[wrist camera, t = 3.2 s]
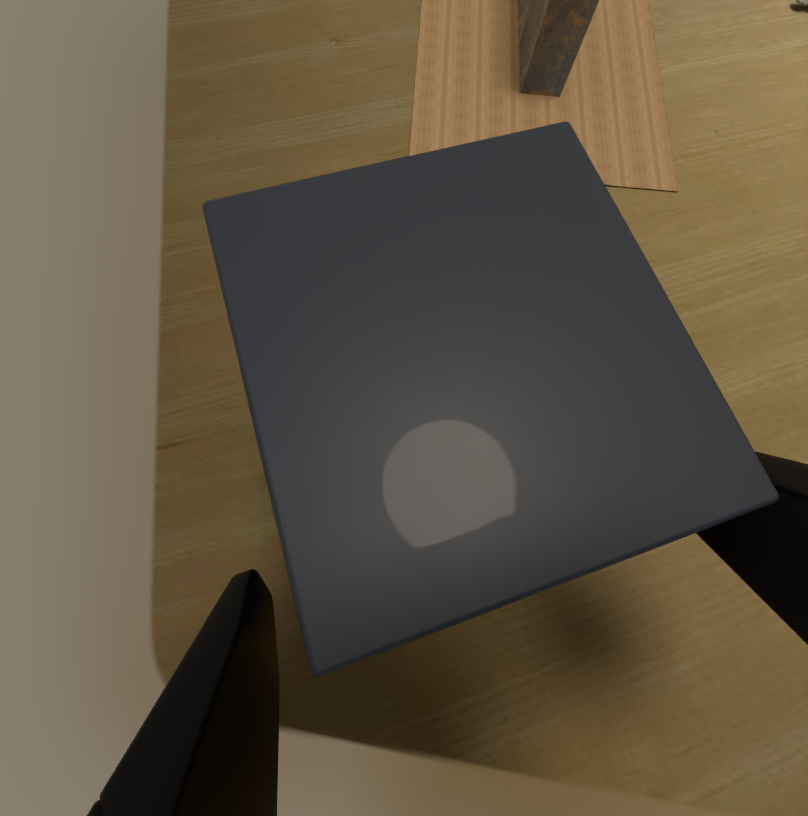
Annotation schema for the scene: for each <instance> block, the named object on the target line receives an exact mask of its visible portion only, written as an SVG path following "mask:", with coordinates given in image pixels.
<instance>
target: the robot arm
mask: <svg viewBox="0 0 808 816" xmlns="http://www.w3.org/2000/svg"><path fill="white" fill-rule="evenodd" d="M754 452H755V451H754ZM755 453H756V455H757V457H758V459H759V461H760V462H761V464H762V466H763V468H764V469H765V471H766V473H767V475H768V477H769V478H770V480H771V482H772V484H773V486H774V487H775V489H776V491H777V493H778V495H779V499H778V500H777V501H776V502H774V503H772V504H770V505H767V506H764V507H762V508H759V509H757V510H754V511H751V512H749V513H746V514H743V515H741V516H738V517H736V518H733V519H730V520H728V521H725V522H723V523H720V524H717V525H715V526H712V527H710V528H707V529H704V530H702V531H699V532H697V533H696V534H697V535H698V536H699V537H700V538H701V539H702V540H703V541H704V542H705V543H706V544H707V545H708V546H709V547H710V548H711V549H712V550H713V551H714V552H715V553H716V554H717V555H718V556H719V557H720V558H721V559H722V560H723V561H724V562H725V563H726V564H727V565H728V566H729V567H730V568H731V569H732V570H733V571H734V572H735V573H736V574H737V575H738V576H739V577H740V578H741V579H742V580H743V581H744V582H745V583H746V584H747V585H748V586H749V587H750V588H751V589H752V590H753V591H754V592H755V593H756V594H757V595H758V596H759V597H760V598H761V599H762V600H763V601H764V602H765V603H766V604H767V605H768V606H769V607H770V608H771V609H772V610H773V611H774V612H775V613H776V614H777V615H778V616H779V617H780V618H781V619H782V620H783V621H784V622H785V623H786V624H787V625H788V626H789V627H790V628H791V629H792V630H793V631H794V632H795V633H796V634H797V635H798V636H799V637H800V638H801V639H802V640H803V641H804V642H805V643H806V644H807V645H808V464H804V463H800V462H796V461H792V460H788V459H784V458H780V457H776V456H772V455H768V454H764V453H760V452H755ZM278 738H279V666H278V654H277V643H276V631H275V619H274V607H273V600H272V596H271V593H270V591H269V589H268V588H267V586H266V584H265V583H264V581H263V580H262V578H261V576H260V575H259V573H258V572H257V571H256V570H255V569H251V570H248V571H245V572H242V573H239V574H236V575H235V576H234V577H233V578H232V579H231V580H230V582H229V584H228V585H227V587H226V589H225V590H224V592H223V593H222V595H221V597H220V598H219V600H218V602H217V603H216V605H215V607H214V608H213V610H212V611H211V613H210V615H209V616H208V618H207V620H206V621H205V623H204V625H203V626H202V628H201V630H200V631H199V633H198V634H197V636H196V638H195V639H194V641H193V643H192V644H191V646H190V648H189V649H188V651H187V653H186V654H185V656H184V657H183V659H182V661H181V662H180V664H179V666H178V667H177V669H176V671H175V672H174V674H173V675H172V677H171V679H170V680H169V682H168V684H167V685H166V687H165V689H164V690H163V692H162V694H161V695H160V697H159V699H158V700H157V702H156V703H155V705H154V707H153V708H152V710H151V712H150V713H149V715H148V717H147V718H146V720H145V722H144V723H143V725H142V726H141V728H140V730H139V731H138V733H137V735H136V736H135V738H134V740H133V741H132V743H131V744H130V746H129V748H128V749H127V751H126V753H125V754H124V756H123V758H122V759H121V761H120V763H119V764H118V766H117V767H116V769H115V771H114V772H113V774H112V776H111V777H110V779H109V781H108V782H107V784H106V786H105V787H104V789H103V791H102V792H101V794H100V800H98V801H97V802H95V803H94V805H93V806H92V808H91V810H90V811H89V813H88V815H87V816H277V782H278Z"/></svg>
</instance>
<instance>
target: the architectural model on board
mask: <svg viewBox="0 0 808 816" xmlns="http://www.w3.org/2000/svg"><path fill="white" fill-rule="evenodd" d="M564 121H566V122H569V123H570V124H571V126H572V128H573V129H574V131H575V133H576V135H577V136H578V138H579V140H580V142H581V144H582V145H583V147H584V149H585V151H586V153H587V154H588V156H589V158H590V160H591V161H592V163H593V165H594V167H595V169H596V170H597V172H598V174H599V176H600V177H601V179H602V181H603V183H604V185H612V186H623V187H634V188H645V189H656V190H668V191H678V188H677V181H676V175H675V168H674V162H673V155H672V149H671V142H670V136H669V129H668V123H667V116H666V110H665V103H664V97H663V90H662V84H661V78H660V71H659V65H658V58H657V52H656V45H655V39H654V32H653V26H652V19H651V13H650V6H649V0H422V6H421V18H420V31H419V43H418V55H417V67H416V79H415V91H414V103H413V115H412V127H411V139H410V151H409V156H411V155H416V154H420V153H425V152H429V151H434V150H438V149H443V148H447V147H452V146H456V145H461V144H465V143H470V142H474V141H479V140H483V139H488V138H492V137H497V136H501V135H506V134H510V133H515V132H519V131H524V130H528V129H533V128H537V127H542V126H546V125H551V124H555V123H560V122H564Z"/></svg>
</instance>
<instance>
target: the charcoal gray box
mask: <svg viewBox="0 0 808 816" xmlns="http://www.w3.org/2000/svg"><path fill="white" fill-rule="evenodd" d="M203 212H204V216H205V221H206V225H207V229H208V233H209V238H210V242H211V246H212V250H213V255H214V259H215V263H216V268H217V272H218V276H219V280H220V285H221V289H222V293H223V298H224V302H225V306H226V310H227V315H228V319H229V323H230V327H231V332H232V336H233V340H234V345H235V349H236V353H237V357H238V362H239V366H240V370H241V375H242V379H243V383H244V387H245V392H246V396H247V400H248V405H249V409H250V413H251V417H252V422H253V426H254V430H255V434H256V439H257V443H258V447H259V452H260V456H261V460H262V464H263V469H264V473H265V477H266V482H267V486H268V490H269V494H270V499H271V503H272V507H273V511H274V516H275V520H276V524H277V529H278V533H279V537H280V541H281V546H282V550H283V554H284V559H285V563H286V567H287V571H288V576H289V580H290V584H291V588H292V593H293V597H294V601H295V606H296V610H297V614H298V618H299V623H300V627H301V631H302V636H303V640H304V644H305V648H306V653H307V657H308V661H309V666H310V670H311V672H312V673H313V675H314V676H323V675H326V674H329V673H331V672H334V671H336V670H339V669H342V668H344V667H347V666H349V665H352V664H355V663H357V662H360V661H363V660H365V659H368V658H370V657H373V656H376V655H378V654H381V653H383V652H386V651H389V650H391V649H394V648H396V647H399V646H402V645H404V644H407V643H409V642H412V641H415V640H417V639H420V638H423V637H425V636H428V635H430V634H433V633H436V632H438V631H441V630H443V629H446V628H449V627H451V626H454V625H456V624H459V623H462V622H464V621H467V620H470V619H472V618H475V617H477V616H480V615H483V614H485V613H488V612H490V611H493V610H496V609H498V608H501V607H503V606H506V605H509V604H511V603H514V602H516V601H519V600H522V599H524V598H527V597H530V596H532V595H535V594H537V593H540V592H543V591H545V590H548V589H550V588H553V587H556V586H558V585H561V584H563V583H566V582H569V581H571V580H574V579H576V578H579V577H582V576H584V575H587V574H590V573H592V572H595V571H597V570H600V569H603V568H605V567H608V566H610V565H613V564H616V563H618V562H621V561H623V560H626V559H629V558H631V557H634V556H637V555H639V554H642V553H644V552H647V551H650V550H652V549H655V548H657V547H660V546H663V545H665V544H668V543H670V542H673V541H676V540H678V539H681V538H683V537H686V536H689V535H691V534H694V533H697V532H699V531H702V530H704V529H707V528H710V527H712V526H715V525H717V524H720V523H723V522H725V521H728V520H730V519H733V518H736V517H738V516H741V515H743V514H746V513H749V512H751V511H754V510H757V509H759V508H762V507H764V506H767V505H770V504H772V503H774V502H776V501H777V500H778V499H779V495H778V493H777V491H776V489H775V487H774V486H773V484H772V482H771V480H770V478H769V477H768V475H767V473H766V471H765V469H764V468H763V466H762V464H761V462H760V461H759V459H758V457H757V455H756V453H755V452H754V450H753V448H752V446H751V445H750V443H749V441H748V439H747V437H746V436H745V434H744V432H743V430H742V429H741V427H740V425H739V423H738V421H737V420H736V418H735V416H734V414H733V413H732V411H731V409H730V407H729V405H728V404H727V402H726V400H725V398H724V396H723V395H722V393H721V391H720V389H719V388H718V386H717V384H716V382H715V380H714V379H713V377H712V375H711V373H710V372H709V370H708V368H707V366H706V364H705V363H704V361H703V359H702V357H701V356H700V354H699V352H698V350H697V348H696V347H695V345H694V343H693V341H692V339H691V338H690V336H689V334H688V332H687V331H686V329H685V327H684V325H683V323H682V322H681V320H680V318H679V316H678V315H677V313H676V311H675V309H674V307H673V306H672V304H671V302H670V300H669V299H668V297H667V295H666V293H665V291H664V290H663V288H662V286H661V284H660V283H659V281H658V279H657V277H656V275H655V274H654V272H653V270H652V268H651V266H650V265H649V263H648V261H647V259H646V258H645V256H644V254H643V252H642V250H641V249H640V247H639V245H638V243H637V242H636V240H635V238H634V236H633V234H632V233H631V231H630V229H629V227H628V226H627V224H626V222H625V220H624V218H623V217H622V215H621V213H620V211H619V210H618V208H617V206H616V204H615V202H614V201H613V199H612V197H611V195H610V193H609V192H608V190H607V188H606V186H605V185H604V183H603V181H602V179H601V177H600V176H599V174H598V172H597V170H596V169H595V167H594V165H593V163H592V161H591V160H590V158H589V156H588V154H587V153H586V151H585V149H584V147H583V145H582V144H581V142H580V140H579V138H578V136H577V135H576V133H575V131H574V129H573V128H572V126H571V124H570V123H569V122H566V121H564V122H560V123H555V124H551V125H546V126H542V127H537V128H533V129H528V130H524V131H519V132H515V133H510V134H506V135H501V136H497V137H492V138H488V139H483V140H479V141H474V142H470V143H465V144H461V145H456V146H452V147H447V148H443V149H438V150H434V151H429V152H425V153H420V154H416V155H411V156H407V157H402V158H398V159H393V160H389V161H384V162H380V163H375V164H371V165H367V166H362V167H358V168H353V169H349V170H344V171H340V172H335V173H331V174H326V175H322V176H317V177H313V178H308V179H304V180H299V181H295V182H290V183H286V184H281V185H277V186H272V187H268V188H263V189H259V190H254V191H250V192H245V193H241V194H236V195H232V196H227V197H223V198H218V199H214V200H209V201H206V202H204V203H203Z"/></svg>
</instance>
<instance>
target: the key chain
mask: <svg viewBox="0 0 808 816" xmlns="http://www.w3.org/2000/svg"><path fill="white" fill-rule="evenodd" d="M796 1H797V3H798V4H803V6H807V4H808V0H796Z"/></svg>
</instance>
